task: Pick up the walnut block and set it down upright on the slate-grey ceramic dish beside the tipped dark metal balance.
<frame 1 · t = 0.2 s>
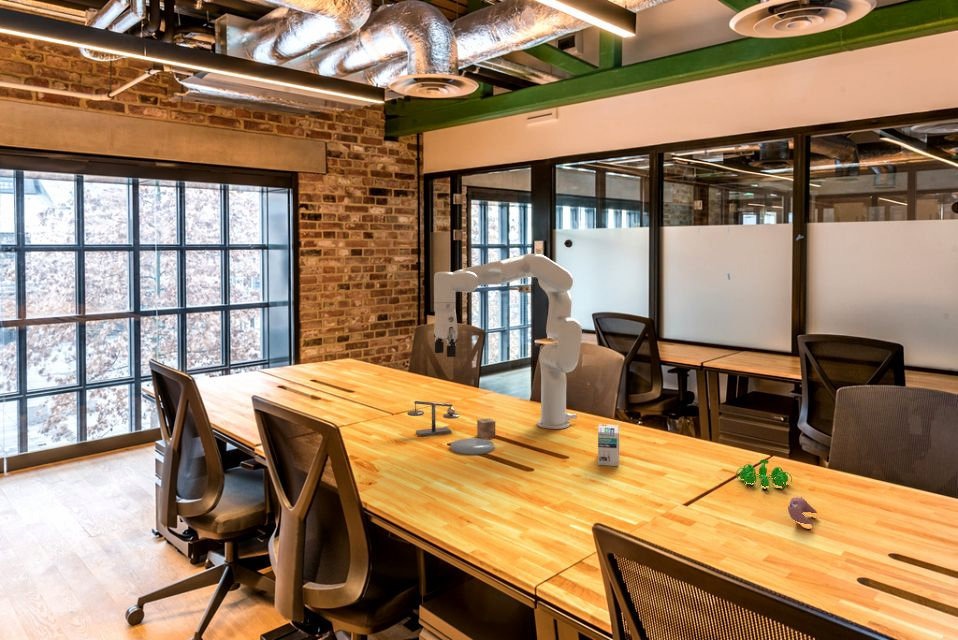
hand: (445, 354, 239), 30 cm above the table, tool pointing down, fingers open, 9 cm apart
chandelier: (763, 484, 196), on the table
video game controller: (802, 523, 168), on the table
balance: (433, 432, 249), on the table
dish: (472, 448, 230), on the table
walnut block: (486, 436, 244), on the table
light bulb box: (608, 461, 217), on the table
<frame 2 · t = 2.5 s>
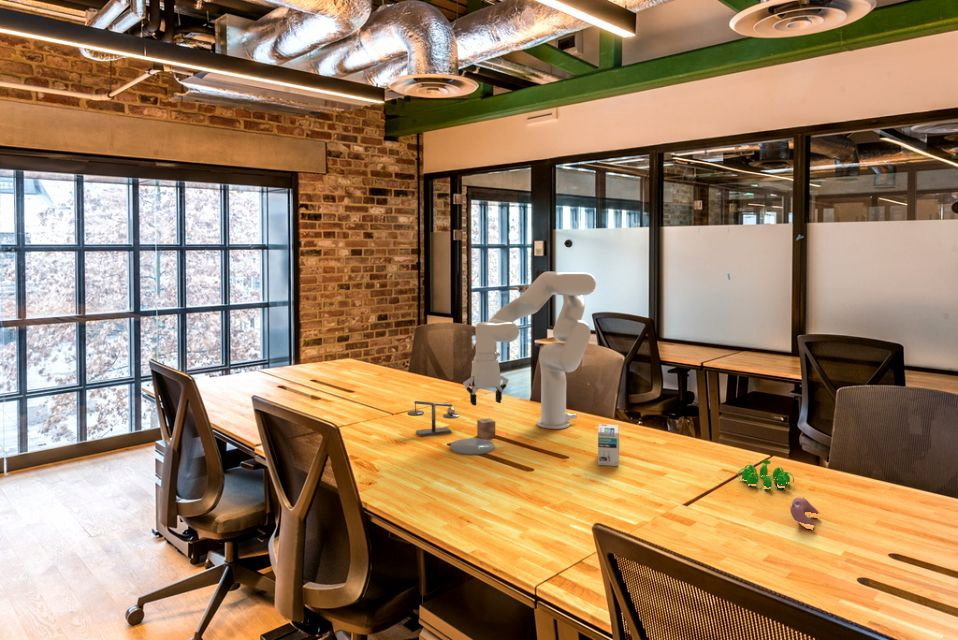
hand: (486, 403, 243), 12 cm above the table, tool pointing down, fingers open, 9 cm apart
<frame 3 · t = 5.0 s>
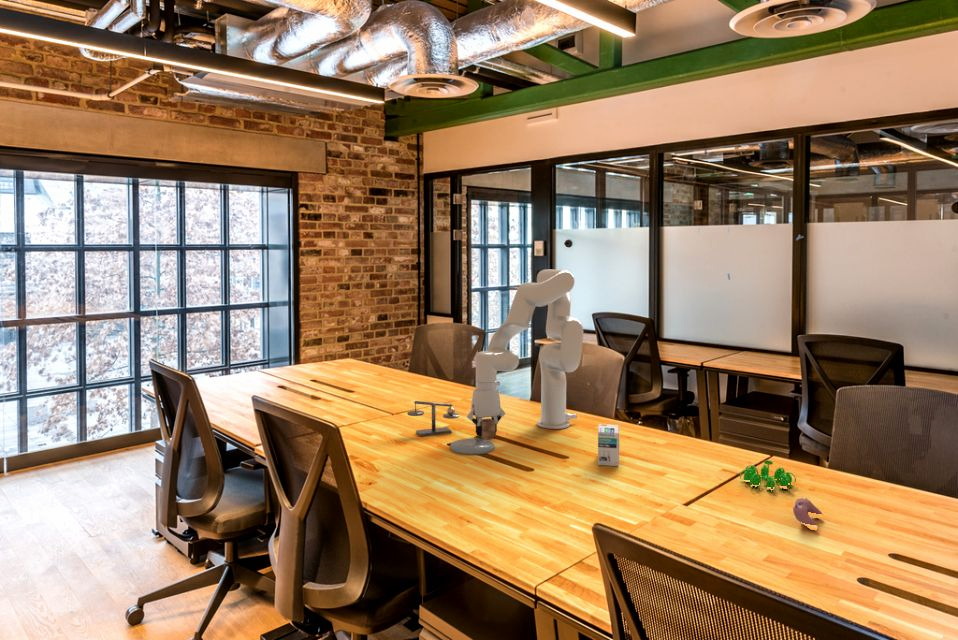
hand: (486, 434, 244), 1 cm above the table, tool pointing down, fingers closed on walnut block, 5 cm apart
walnut block: (486, 436, 244), on the table, touching gripper
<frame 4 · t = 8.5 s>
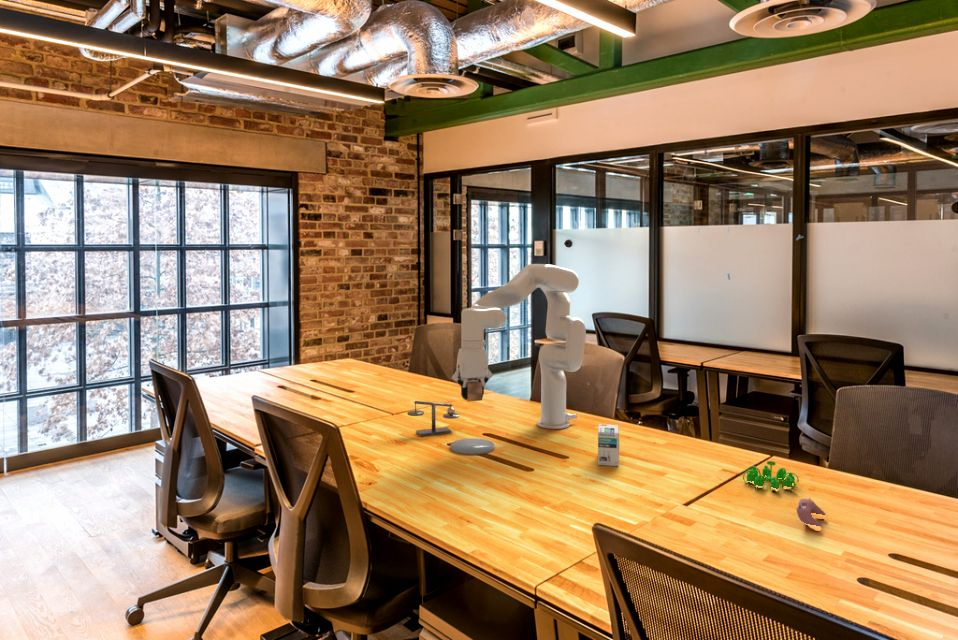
hand: (472, 397, 229), 18 cm above the table, tool pointing down, fingers closed on walnut block, 5 cm apart
walnut block: (472, 399, 229), point 17 cm above the table, touching gripper
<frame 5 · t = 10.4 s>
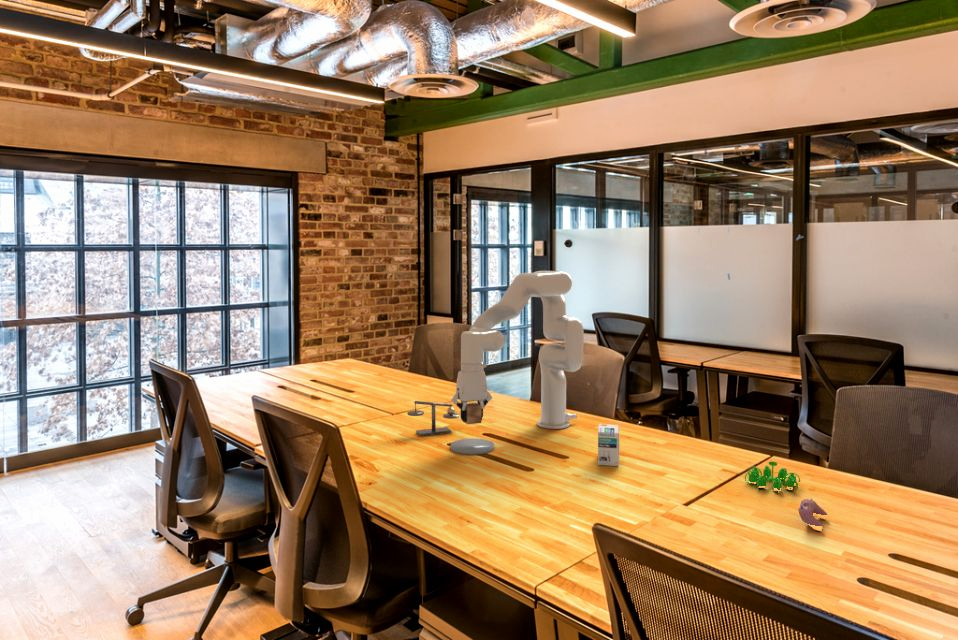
hand: (471, 419, 229), 10 cm above the table, tool pointing down, fingers closed on walnut block, 5 cm apart
walnut block: (471, 422, 229), point 9 cm above the table, touching gripper
when the fingers open (3 cm above the table, at t = 12.0 s): walnut block drops 1 cm, resting on dish.
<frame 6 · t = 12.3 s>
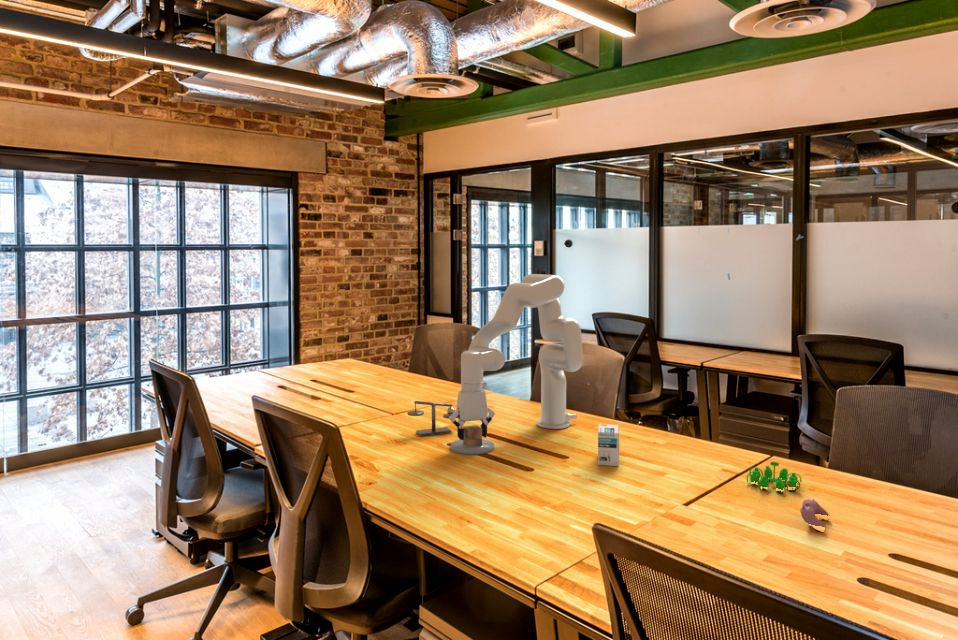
hand: (472, 437, 230), 4 cm above the table, tool pointing down, fingers open, 7 cm apart
walnut block: (472, 444, 230), point 1 cm above the table, touching dish
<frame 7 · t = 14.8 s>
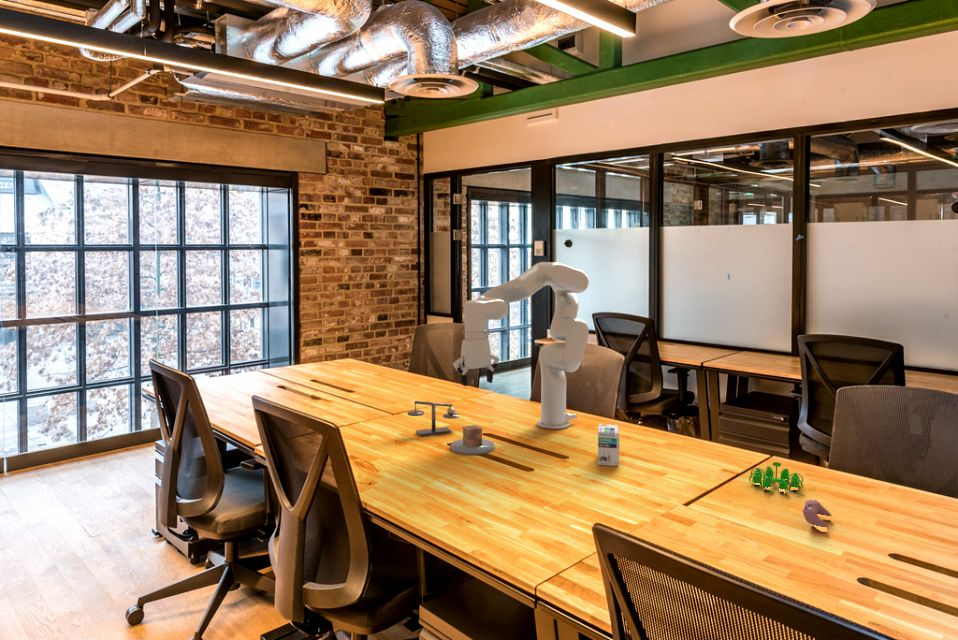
hand: (477, 383, 236), 21 cm above the table, tool pointing down, fingers open, 9 cm apart
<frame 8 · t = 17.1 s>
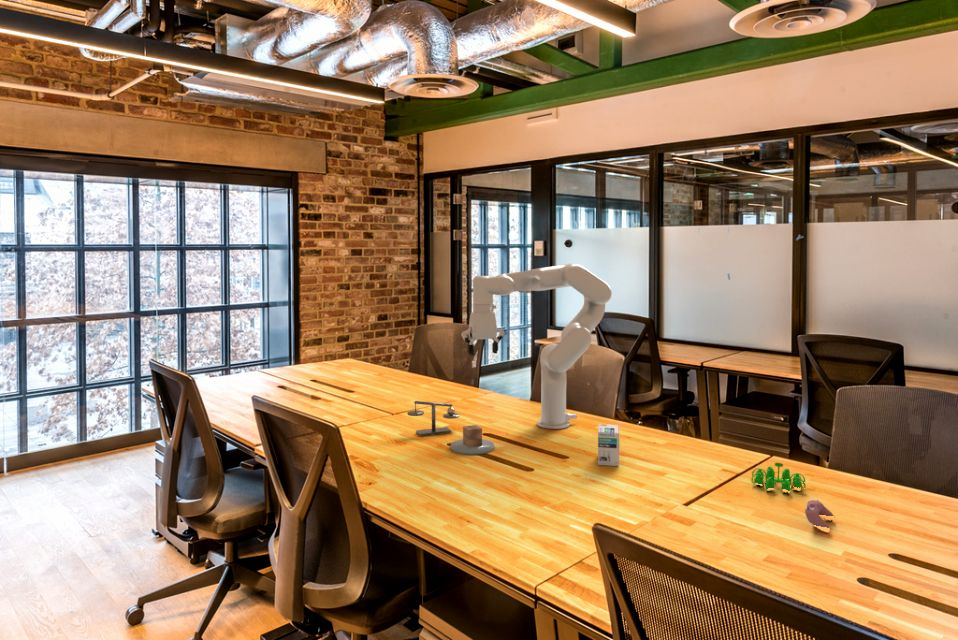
hand: (483, 354, 254), 28 cm above the table, tool pointing down, fingers open, 9 cm apart
at the end: walnut block inside the target area on the dish (0.1 cm from its centre), point 1.2 cm above the dish's base; walnut block tilted 0°; the gripper is holding nothing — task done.
